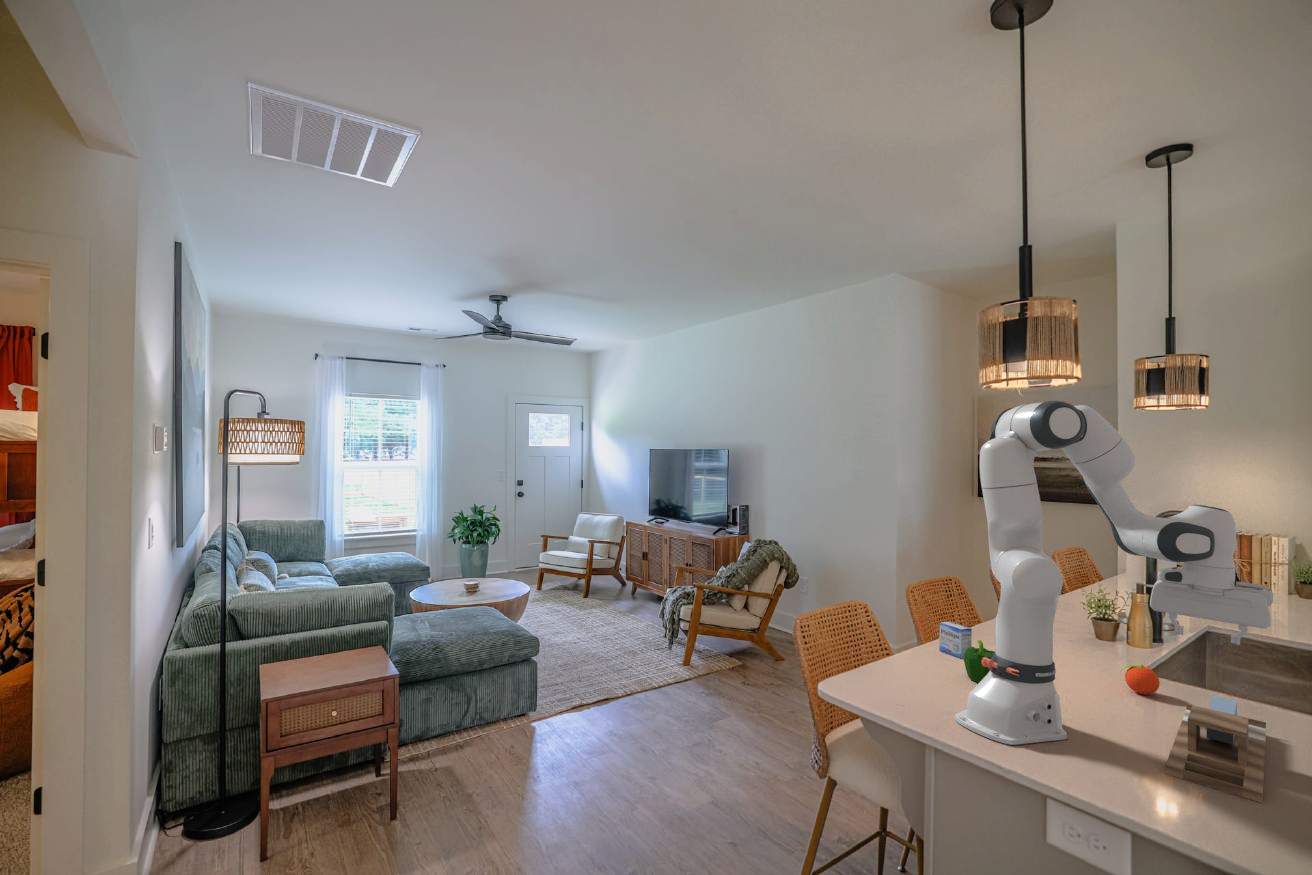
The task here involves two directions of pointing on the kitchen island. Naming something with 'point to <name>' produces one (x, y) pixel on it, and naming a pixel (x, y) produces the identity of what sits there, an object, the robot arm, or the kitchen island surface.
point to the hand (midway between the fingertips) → (1206, 638)
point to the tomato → (1141, 679)
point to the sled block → (1225, 707)
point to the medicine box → (954, 639)
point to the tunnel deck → (1220, 752)
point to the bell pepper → (976, 662)
